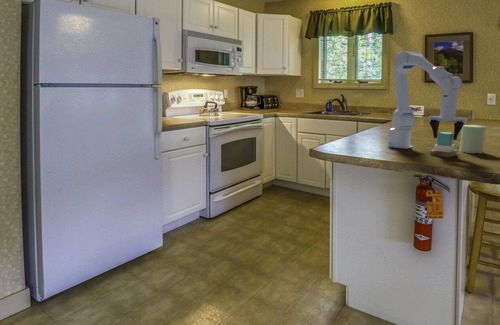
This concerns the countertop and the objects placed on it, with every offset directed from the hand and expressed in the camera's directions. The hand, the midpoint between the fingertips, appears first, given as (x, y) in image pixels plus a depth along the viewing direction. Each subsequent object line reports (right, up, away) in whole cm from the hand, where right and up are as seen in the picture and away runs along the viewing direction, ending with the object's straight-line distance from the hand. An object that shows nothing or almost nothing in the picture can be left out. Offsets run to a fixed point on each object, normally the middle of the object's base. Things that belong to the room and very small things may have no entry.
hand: (445, 138), depth 155 cm
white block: (0, -5, +1) cm, 5 cm away
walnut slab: (0, -7, +2) cm, 8 cm away
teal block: (0, -2, +1) cm, 3 cm away
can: (+16, -5, +9) cm, 19 cm away
